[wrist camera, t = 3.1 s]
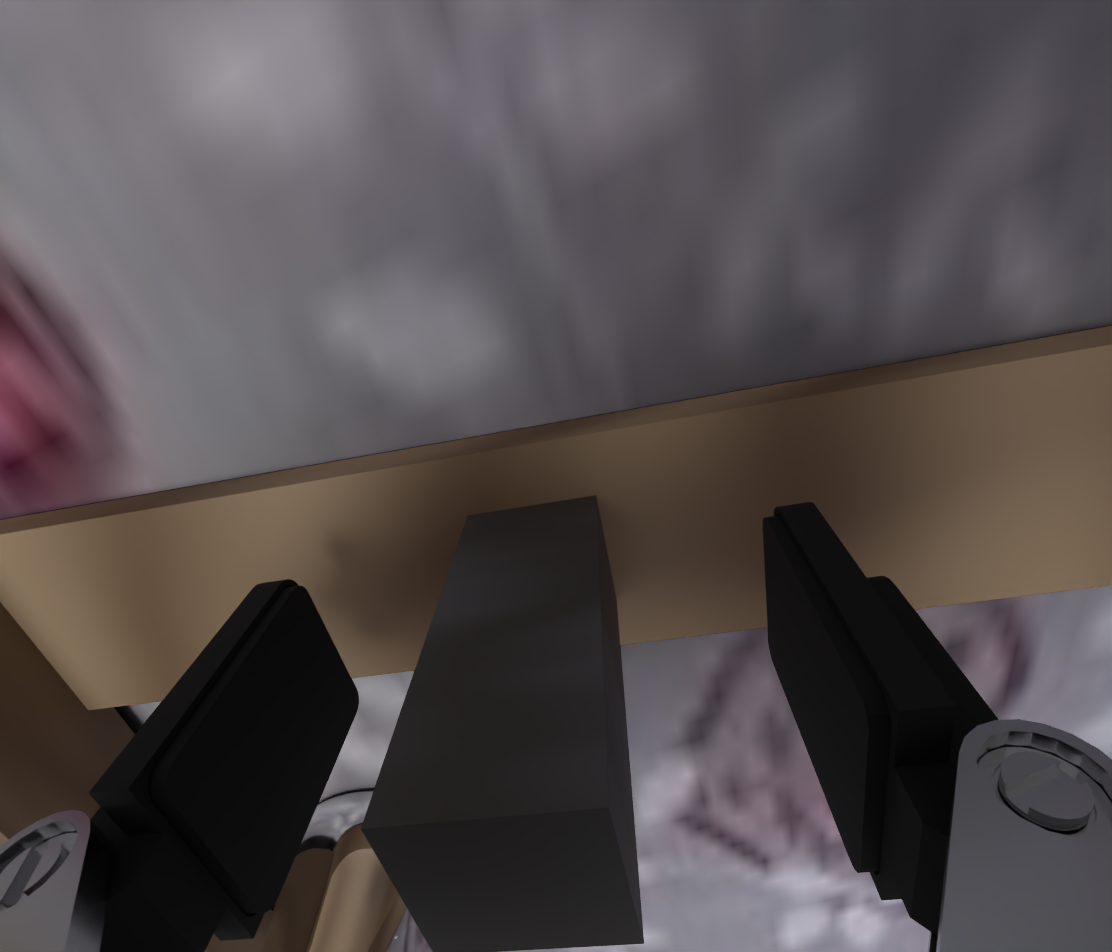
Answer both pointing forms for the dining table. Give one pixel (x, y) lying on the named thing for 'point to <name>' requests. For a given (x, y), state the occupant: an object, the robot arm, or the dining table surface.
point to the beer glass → (340, 891)
